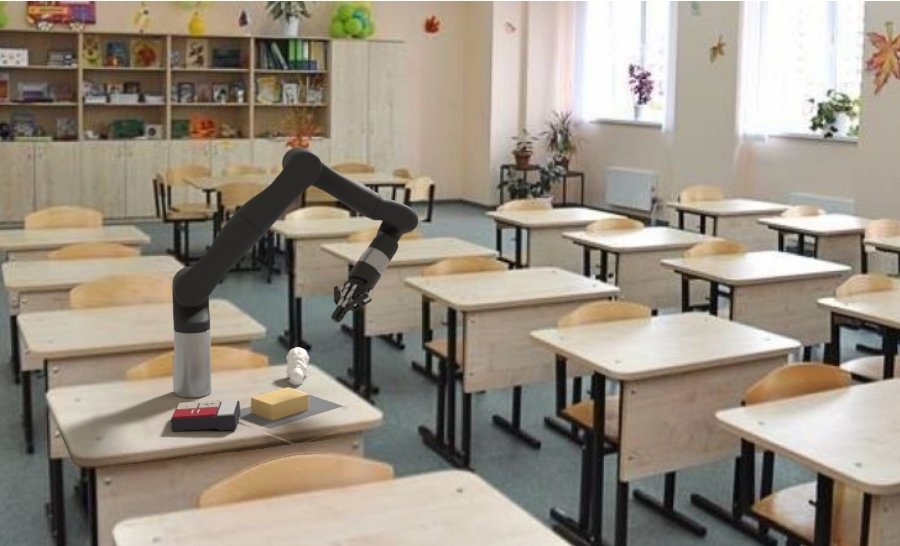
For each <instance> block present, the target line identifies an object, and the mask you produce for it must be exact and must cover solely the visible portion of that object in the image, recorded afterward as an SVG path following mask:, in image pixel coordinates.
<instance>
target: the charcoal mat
mask: <svg viewBox="0 0 900 546" xmlns="http://www.w3.org/2000/svg"><path fill="white" fill-rule="evenodd" d="M342 407H343V405H342V404H339V403H335V402H333V401H330V400H327V399H324V398H320V397H318V396H316V395H315V396H314V395H312V394H309V410H306V411H302V412H299V413H296V414H292V415H289V416H286V417H282V418H279V419H276V420H269V419H266V418H264V417H261V416H258V415H255V414H253V413H251V405H250V406H247V407H244V408H240V417H239V419H240V418H241V419H243V420H246V421H249V422H250V423H254V424H257V425H259V426H262V427H265V428H266V429H267V428H268V429H273V428H276V427H279V426H283V425H286V424H290V423H293V422H296V421H299V420H303V419H306V418H309V417H312V416H315V415H319V414H322V413H326V412H329V411H331V410H335V409H339V408H342Z"/></svg>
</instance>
